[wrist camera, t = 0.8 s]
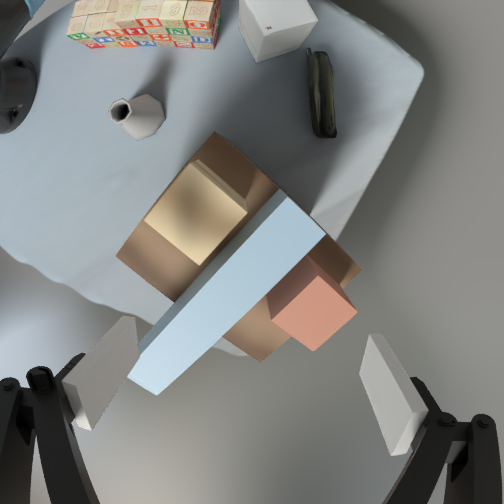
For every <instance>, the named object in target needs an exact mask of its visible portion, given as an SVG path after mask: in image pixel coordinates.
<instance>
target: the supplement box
mask: <svg viewBox="0 0 504 504" xmlns="http://www.w3.org/2000/svg"><path fill="white" fill-rule="evenodd" d="M317 22H318V19H317V17H316V15H315V13H314V12H313V10H312V8H311V6H310V5H309V3H308V1H307V0H239V26H238V28H239V30H240V32H241V34H242V36H243V38H244V40H245V42H246V44H247V46H248V48H249V50H250V52H251V54H252V56H253V58H254V60H255V62H256V63H258V62H261V61H264V60H267V59H270V58H273V57H276V56H279V55H282V54H285V53H289V52H292V51H296V50H298V49H299V48H300V46H301V45H302V43H303V42H304V40H305V39H306V37H307V36H308V35H309V33H310V32H311V30H312V29H313V27H314V26H315V25H316V23H317Z"/></svg>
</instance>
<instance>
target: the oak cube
mask: <svg viewBox="0 0 504 504" xmlns="http://www.w3.org/2000/svg"><path fill="white" fill-rule="evenodd" d="M246 214H247V207H246V201H245V199H244V198H243V197H242V196H241V195H240V194H239V193H237V192H236V191H235V190H234V189H233V188H232V187H230V186H229V185H228V184H227V183H226V182H225V181H224V180H222V179H221V178H220V177H219V176H218V175H217V174H215V173H214V172H213V171H212V170H211V169H210V168H208V167H207V166H206V165H205V164H204V163H203V162H201V161H200V160H196V161H194V162H191V163H189V165H188V166H187V167H186V168H185V169H184V171H183V172H182V173H181V174H180V175H179V177H178V178H177V179H176V180H175V181H174V183H173V184H172V185H171V186H170V188H169V189H168V190H167V191H166V192H165V194H164V195H163V196H162V198H161V199H160V200H159V201H158V203H157V204H156V205H155V206H154V208H153V209H152V210H151V212H150V213H149V214H148V216H147V217H146V218H145V219H144V221H145V222H146V223H148V224H149V225H150V226H151V227H152V228H154V229H155V230H156V231H157V232H158V233H160V234H161V235H162V236H163V237H164V238H166V239H167V240H168V241H169V242H171V243H172V244H173V245H174V246H176V247H177V248H178V249H179V250H180V251H182V252H183V253H184V254H185V255H187V256H188V257H189V258H190V259H192V260H193V261H194V262H195V263H197V264H198V265H199V266H200V264H201V263H202V262H203V261H204V260H205V259H206V258H207V257H208V256H209V254H210V253H211V252H212V251H213V250H214V249H215V248H216V247H217V246H218V244H219V243H220V242H221V241H222V240H223V239H224V238H225V237H226V236H227V235H228V233H229V232H230V231H231V230H232V229H233V228H234V227H235V226H236V225H237V224H238V223H239V221H240V220H241V219H242V218H243V217H244V216H245V215H246Z"/></svg>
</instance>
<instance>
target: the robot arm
mask: <svg viewBox="0 0 504 504" xmlns="http://www.w3.org/2000/svg"><path fill="white" fill-rule="evenodd" d="M44 1H45V0H0V134H6V133H9V132H11V131H13V130H14V129H16V128H17V127H18V126H19V125H20V124H21V123H22V121H23V120H24V119H25V117H26V116H27V114H28V112H29V110H30V108H31V106H32V103H33V100H34V96H35V92H36V73H35V70H34V67H33V65H32V64H31V63H30V62H29V61H28V60H26V59H23V58H20V57H9V58H5V59H2V57H3V56H4V54H5V53H6V51H7V50H8V48H9V47H10V46H11V44H12V43H13V41H14V40H15V38H16V37H17V36H18V34H19V33H20V32H21V30H22V29H23V28H24V26H25V25H26V24H27V22H28V21H29V20H31V19H32V18H33V15H34V14H35V12H36V11H37V10H38V9H39V7H40V6H41V5H42V4H43V2H44ZM139 358H140V355H139V348H138V340H137V332H136V324H135V318H134V317H128V316H122V317H121V318H120V319H119V320H118V322H116V324H115V325H114V326H113V327H112V328H111V329H110V330H109V331H108V332H107V333H106V334H105V335H104V336H103V337H102V338H101V339H100V340H99V341H98V342H97V343H96V344H95V346H94V347H93V348H92V349H91V350H90V351H89V352H88V353H87V354H85V353H80V354H79V355H77V356H75V357H74V358H72V359H71V360H70V361H69V363H68V364H67V365H66V366H65V367H64V368H63V369H62V370H61V371H60V372H59V373H58V374H57V375H56V376H55V377H54V376H53V373H52V371H51V370H50V369H49V368H48V367H45V366H38V367H34V368H32V369H30V370H29V371H28V372H27V375H26V378H27V381H28V384H29V386H30V388H24V387H21V386H20V383H19V381H18V380H17V379H15V378H11V377H10V378H4V379H2V380H1V381H0V504H30V487H31V473H32V462H33V454H34V444H35V438H36V436H37V443H38V448H39V454H40V459H41V464H42V469H43V473H44V478H45V482H46V486H47V490H48V494H49V497H50V501H51V504H100V502H99V500H98V498H97V495H96V493H95V491H94V488H93V486H92V483H91V480H90V478H89V475H88V473H87V470H86V467H85V464H84V461H83V458H82V455H81V452H80V449H79V446H78V443H77V440H76V436H75V433H74V429H73V426H72V424H71V422H72V421H73V419H74V418H75V419H76V422H77V424H78V426H79V427H82V428H85V429H88V430H91V431H92V430H93V429H94V427H95V425H96V424H97V422H98V421H99V419H100V418H101V416H102V414H103V413H104V411H105V410H106V408H107V407H108V405H109V404H110V402H111V401H112V399H113V397H114V396H115V394H116V393H117V391H118V390H119V388H120V387H121V385H122V384H123V382H124V381H125V379H126V378H127V376H128V375H129V373H130V372H131V370H132V369H133V367H134V366H135V364H136V363H137V361H138V360H139ZM359 375H360V377H361V380H362V382H363V385H364V387H365V389H366V392H367V395H368V397H369V400H370V402H371V405H372V407H373V410H374V412H375V415H376V418H377V420H378V423H379V426H380V428H381V431H382V433H383V436H384V439H385V441H386V444H387V447H388V450H389V453H390V455H391V456H393V455H400V454H405V453H406V452H407V450H408V449H409V447H410V445H411V447H412V449H413V453H412V454H411V456H410V457H409V459H408V461H407V462H406V464H405V467H404V469H403V471H402V472H401V474H400V476H399V477H398V479H397V481H396V482H395V484H394V486H393V487H392V489H391V491H390V492H389V494H388V495H387V497H386V498H385V500H384V502H383V503H382V504H427V503H428V501H429V498H430V497H431V494H432V492H433V490H434V488H435V486H436V483H437V481H438V478H439V476H440V474H441V471H442V469H443V466H444V464H445V463H448V465H447V478H446V488H445V496H444V503H443V504H502V479H501V478H502V477H501V464H500V454H499V445H498V437H497V431H496V424H495V421H494V420H493V419H492V418H491V417H490V416H488V415H485V414H477V415H475V416H474V417H473V419H472V421H471V422H457V420H456V418H455V417H454V416H453V415H451V414H449V413H446V412H442V411H441V409H440V408H439V406H438V405H437V403H436V401H435V400H434V398H433V397H432V395H431V394H430V392H429V390H427V387H426V386H425V384H424V383H423V382H422V381H421V380H419V379H418V378H417V377H410V378H409V376H408V375H407V373H406V372H405V370H404V368H403V367H402V365H401V364H400V362H399V360H398V359H397V357H396V356H395V354H394V353H393V351H392V349H391V348H390V346H389V345H388V343H387V342H386V340H385V338H384V337H383V336H382V334H369V337H368V342H367V345H366V349H365V353H364V357H363V361H362V365H361V368H360V372H359Z"/></svg>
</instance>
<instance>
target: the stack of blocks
mask: <svg viewBox="0 0 504 504" xmlns="http://www.w3.org/2000/svg"><path fill="white" fill-rule="evenodd" d="M220 20H221V12H220V0H81V1H76V4H75V7H74V10H73V13H72V16H71V20H70V23H69V26H68V30H67V33H66V36H68V37H70V38H71V39H73V40H77V41H78V42H80V43H82V44H84V45H86V46H87V47H89V48H102V47H122V46H123V47H134V46H176V47H187V48H199V49H210V50H214V48H215V43H216V39H217V33H218V28H219V24H220Z"/></svg>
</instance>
